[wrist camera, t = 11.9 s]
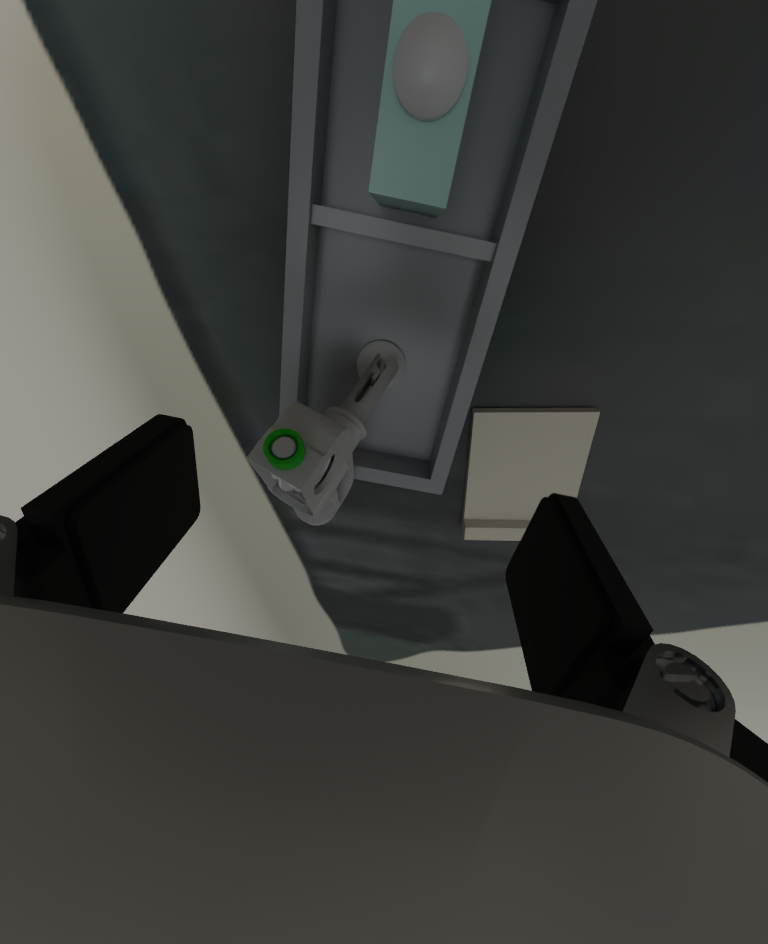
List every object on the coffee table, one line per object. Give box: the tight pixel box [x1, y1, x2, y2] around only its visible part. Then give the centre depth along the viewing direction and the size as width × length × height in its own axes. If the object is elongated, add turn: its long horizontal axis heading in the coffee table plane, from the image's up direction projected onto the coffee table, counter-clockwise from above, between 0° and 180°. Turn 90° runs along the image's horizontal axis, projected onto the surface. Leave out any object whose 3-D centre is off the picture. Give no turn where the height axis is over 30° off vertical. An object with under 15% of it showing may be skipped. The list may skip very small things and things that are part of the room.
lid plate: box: [462, 408, 600, 541], centre depth 27 cm, size 10×8×2 cm
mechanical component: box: [247, 353, 399, 525], centre depth 21 cm, size 3×10×10 cm
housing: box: [279, 0, 598, 495], centre depth 19 cm, size 24×11×8 cm, turn 170°
